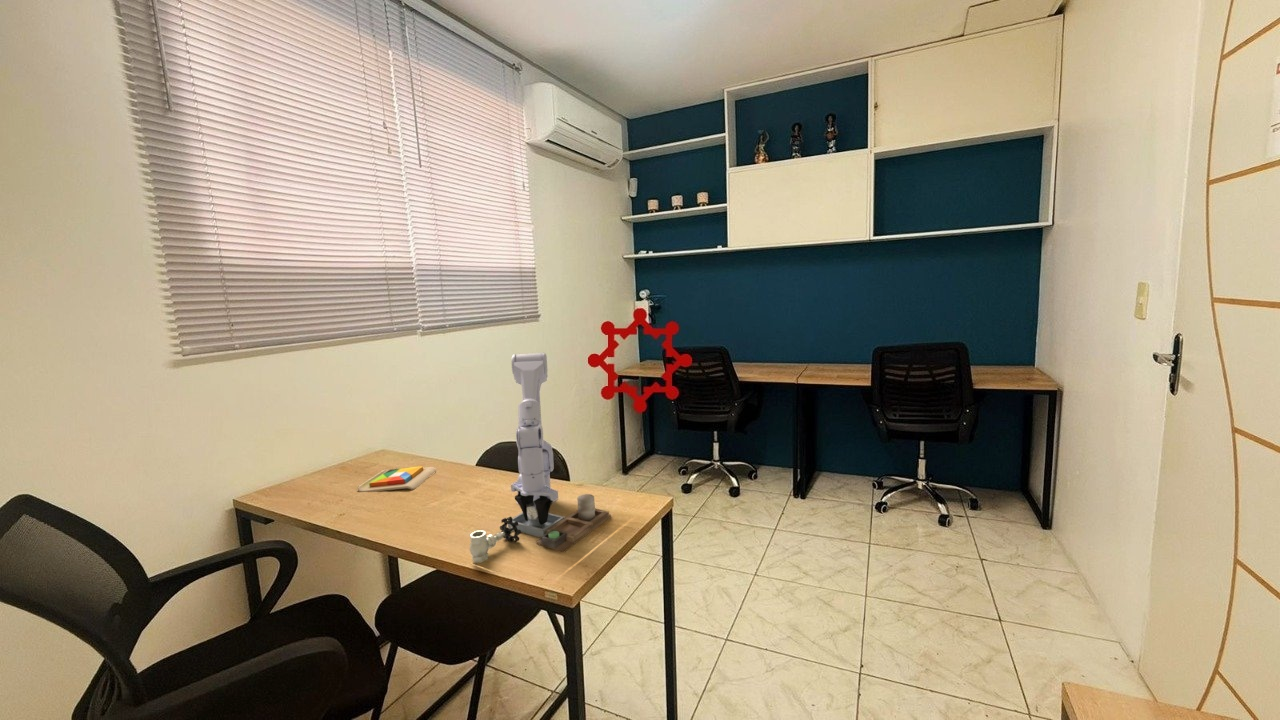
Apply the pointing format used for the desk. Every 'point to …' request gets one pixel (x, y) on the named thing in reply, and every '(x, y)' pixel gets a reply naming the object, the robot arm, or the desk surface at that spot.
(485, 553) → the valve
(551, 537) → the button
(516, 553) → the desk surface
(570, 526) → the brown compartment tray
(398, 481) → the wooden puzzle
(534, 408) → the robot arm
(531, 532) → the tote
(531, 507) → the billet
